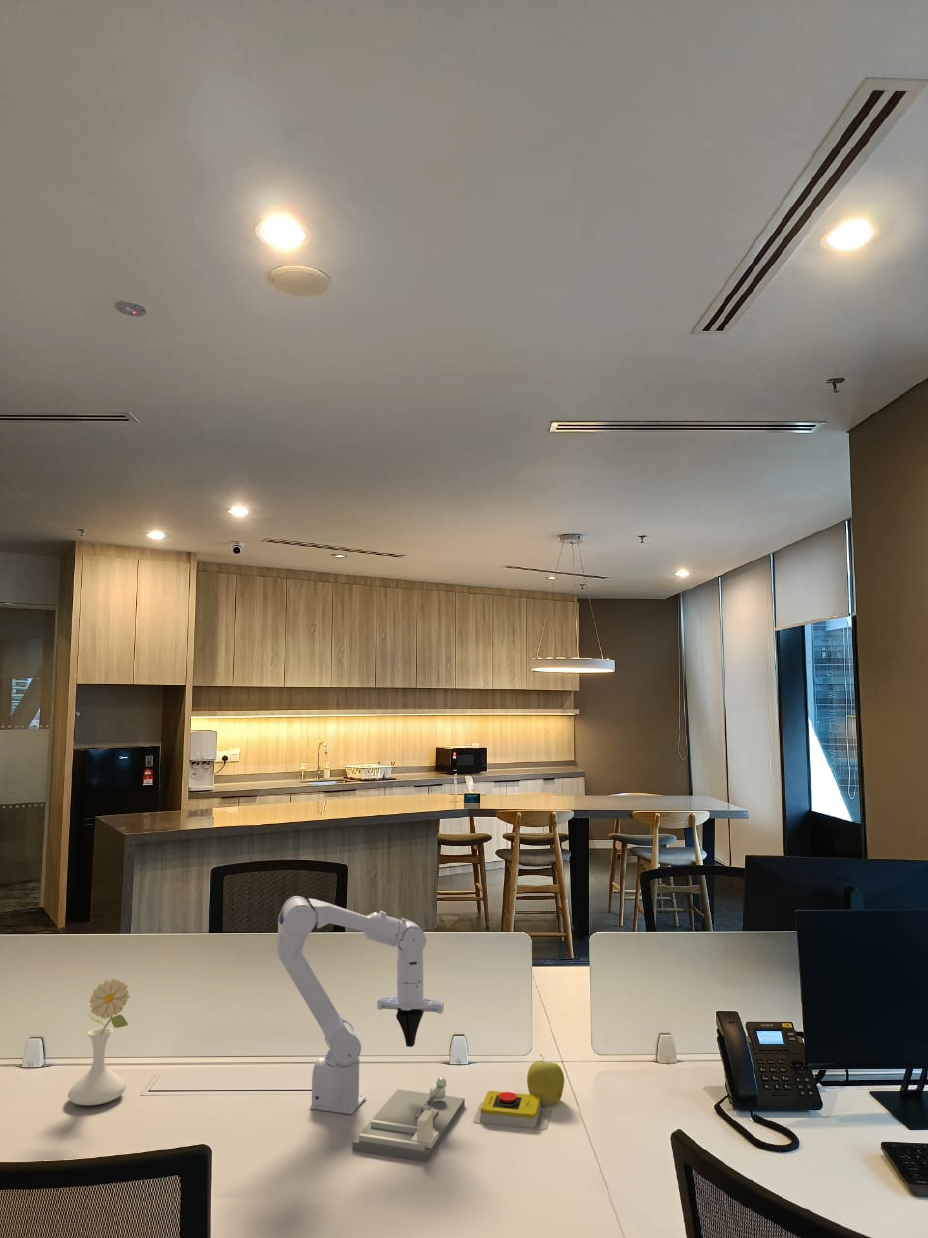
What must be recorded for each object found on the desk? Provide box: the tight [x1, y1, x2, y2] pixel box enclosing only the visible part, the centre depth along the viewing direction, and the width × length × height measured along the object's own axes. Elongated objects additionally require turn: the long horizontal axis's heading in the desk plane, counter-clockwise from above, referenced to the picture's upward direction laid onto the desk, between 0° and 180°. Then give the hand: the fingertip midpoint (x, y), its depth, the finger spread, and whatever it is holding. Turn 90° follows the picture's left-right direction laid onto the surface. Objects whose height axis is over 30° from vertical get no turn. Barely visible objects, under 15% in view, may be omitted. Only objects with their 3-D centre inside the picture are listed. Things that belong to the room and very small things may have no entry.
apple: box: [526, 1054, 565, 1107], centre depth 183 cm, size 8×8×10 cm
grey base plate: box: [351, 1088, 466, 1163], centre depth 171 cm, size 15×24×2 cm, turn 164°
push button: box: [429, 1084, 446, 1099], centre depth 179 cm, size 3×3×2 cm
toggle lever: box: [421, 1077, 447, 1113], centre depth 172 cm, size 2×2×8 cm
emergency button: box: [472, 1090, 552, 1131], centre depth 176 cm, size 9×4×15 cm
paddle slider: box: [411, 1110, 439, 1148], centre depth 162 cm, size 4×4×5 cm
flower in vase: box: [67, 978, 130, 1106], centre depth 184 cm, size 13×11×25 cm
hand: (410, 1045), depth 186 cm, fingers closed
